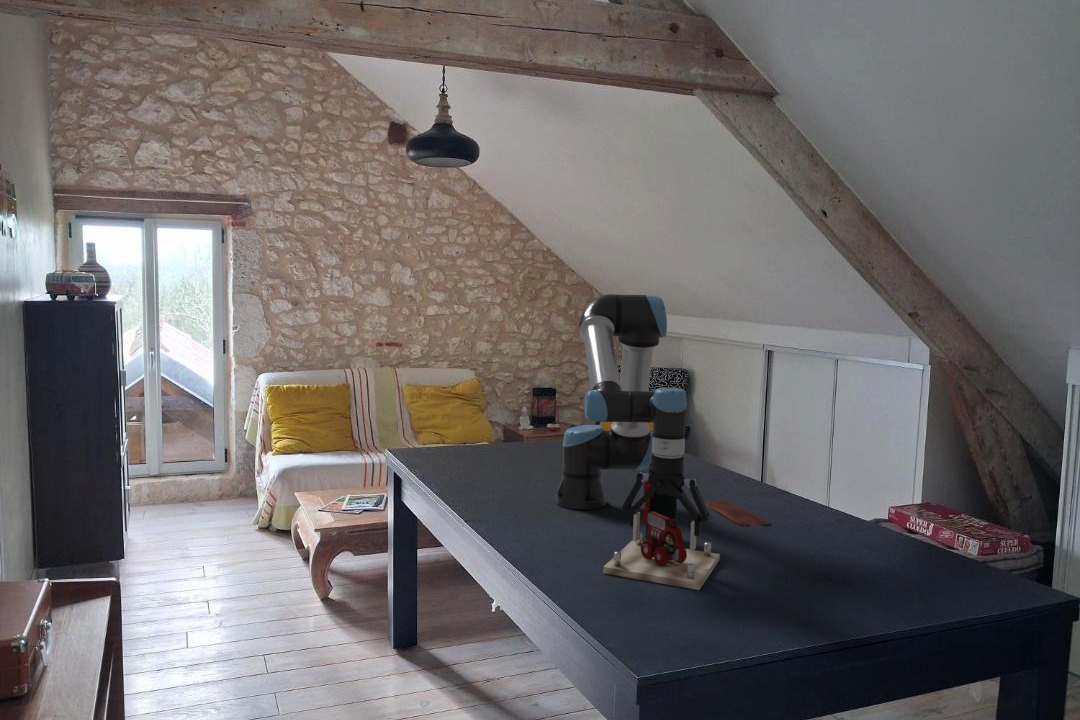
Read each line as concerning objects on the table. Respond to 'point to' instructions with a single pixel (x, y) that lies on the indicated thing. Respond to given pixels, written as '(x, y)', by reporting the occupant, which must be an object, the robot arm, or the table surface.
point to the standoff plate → (672, 573)
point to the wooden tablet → (736, 513)
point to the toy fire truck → (663, 540)
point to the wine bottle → (658, 505)
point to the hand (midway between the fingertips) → (663, 544)
